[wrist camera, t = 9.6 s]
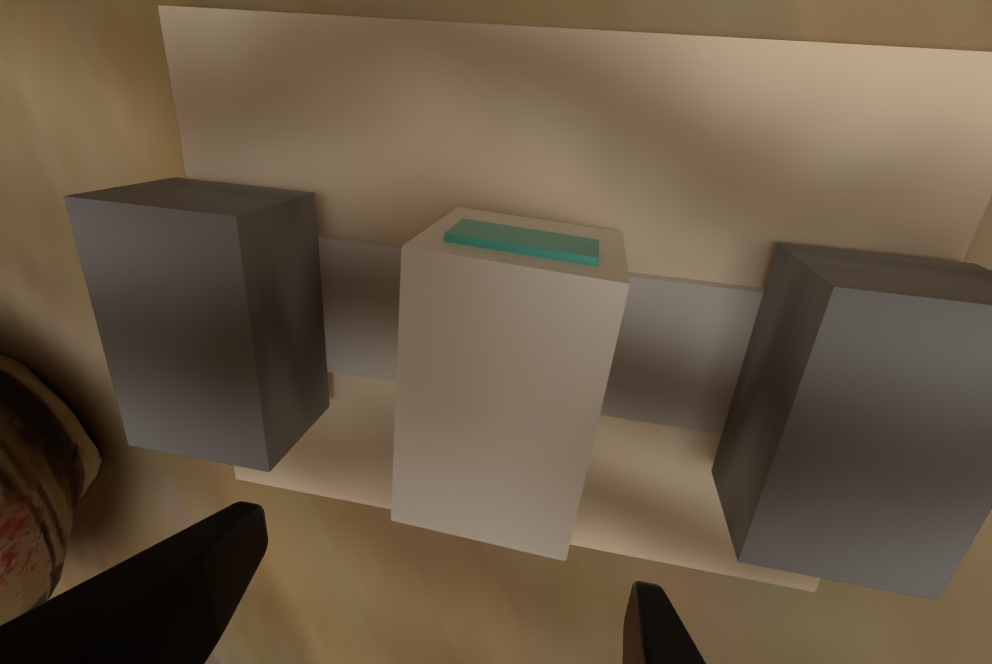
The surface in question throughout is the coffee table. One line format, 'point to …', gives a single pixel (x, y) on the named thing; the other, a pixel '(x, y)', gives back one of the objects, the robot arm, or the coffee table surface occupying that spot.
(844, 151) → the rail panel
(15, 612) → the ceramic jug
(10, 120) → the coffee table surface
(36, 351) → the coffee table surface
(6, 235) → the coffee table surface
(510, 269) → the module block
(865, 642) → the coffee table surface
